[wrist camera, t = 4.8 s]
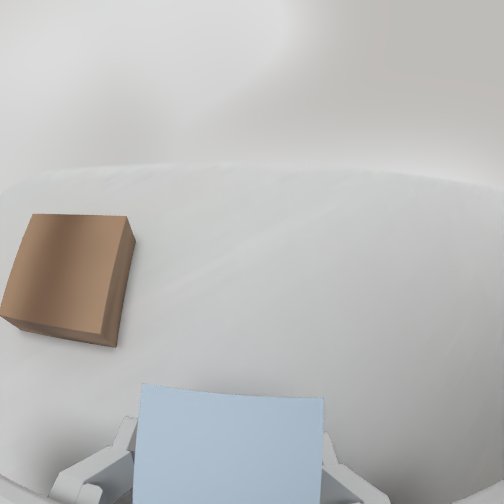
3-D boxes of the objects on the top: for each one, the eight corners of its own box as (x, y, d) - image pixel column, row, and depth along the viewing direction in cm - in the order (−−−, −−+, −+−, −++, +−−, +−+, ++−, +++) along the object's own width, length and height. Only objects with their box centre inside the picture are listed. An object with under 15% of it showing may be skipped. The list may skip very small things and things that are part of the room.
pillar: (263, 412, 15) (324, 397, 6) (259, 482, 13) (314, 552, 4) (186, 406, 15) (142, 383, 6) (180, 476, 13) (132, 541, 4)
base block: (136, 244, 20) (126, 216, 17) (118, 348, 16) (100, 333, 14) (49, 239, 19) (32, 214, 17) (23, 331, 16) (-2, 314, 13)
